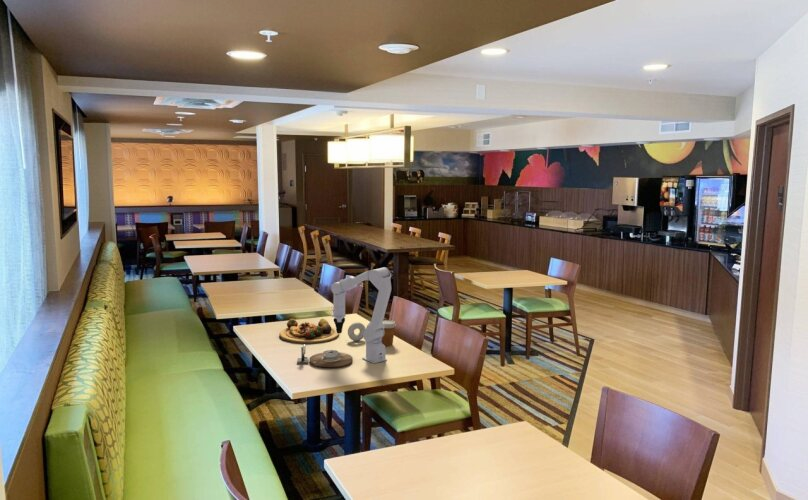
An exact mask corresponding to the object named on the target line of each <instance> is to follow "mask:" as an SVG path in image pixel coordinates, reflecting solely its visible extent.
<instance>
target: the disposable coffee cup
mask: <svg viewBox="0 0 808 500" xmlns="http://www.w3.org/2000/svg"><path fill="white" fill-rule="evenodd" d="M382 323H383V324H384V325H385V327H384V336H383V337H382V340H381V342H382V344H384V345H385V347H392V346H393V343H394V335H395V329H396V326H397V324H396V321H395V320H392V319H383V322H382Z"/></svg>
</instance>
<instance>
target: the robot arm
mask: <svg viewBox="0 0 808 500" xmlns="http://www.w3.org/2000/svg"><path fill="white" fill-rule="evenodd" d="M391 279H392V273H391V272H390V270H389V268H388V267H385V266H383V267H380V268H376V269H371V270H370V269H369V270H366V271H365V272H362V273H360V274H358V275H356V276H353V275H347V276H346V278H342V279H339V281H337V282H336V281H335V282H333V283H332V284H331V286H330V290H331V292H332V294H333V299H332V300H333V302H332V303H333V304H332V305H333V310H332V311H333V313H332V314H330V317H332V318H333V323H334V324H335V329H336V331H337V333H339V334H342V332H343V326H344V324H345V322H346V318H345V317H346V296H347V292H348V291H350V290H351V289H354V288H356V287H357V286H358V284H359V283H362V282H364V281H370V282H371V284H372V285H373V286H374V287H375V288H376V289H377V291H378V293H377V296H376V300H375V305H374V308H373V312H372V314H371V315H372V317H371V318H370V321H369V323H368V324H367V325H366V326H365V328H366V329H365V330H364V332H363V339H364V341H365V356H363V357H361V359H362V360H365V361H366V362H370V363H372V364H378V363H382V362H385V361H387V360H388V359H387V357H386V355H387V354H386V352H387V351H386V350H387V348H386V346H385V345H384V344H382V342H381V340H382V337H383V336H384V327H385V325H384V324H383V323H382V322H383V320H385V319H384V318H385V315H386V310H387V307H388V304H389V299H390V296H391V292H392V282H391Z"/></svg>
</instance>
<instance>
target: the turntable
mask: <svg viewBox="0 0 808 500" xmlns="http://www.w3.org/2000/svg"><path fill="white" fill-rule="evenodd" d="M353 361H354V360H353V356H352V355H351V354H349V353H345V352H340V351H338V359H337V360H334V361H326V360H324V359H323V352H319V353H316V354H312V355H311V356H310V357H309V364H310V365H312V366H315V367H319V368H341V367H345V366H348V365H350V364H351V363H353Z"/></svg>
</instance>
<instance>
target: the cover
mask: <svg viewBox="0 0 808 500" xmlns="http://www.w3.org/2000/svg"><path fill="white" fill-rule="evenodd" d="M338 352H339V351H338V350H336V349H335V350H334V349H327V350H324V351H323V352H322V353H323V359H324V360H326V361H334V360H337V359H338Z"/></svg>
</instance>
